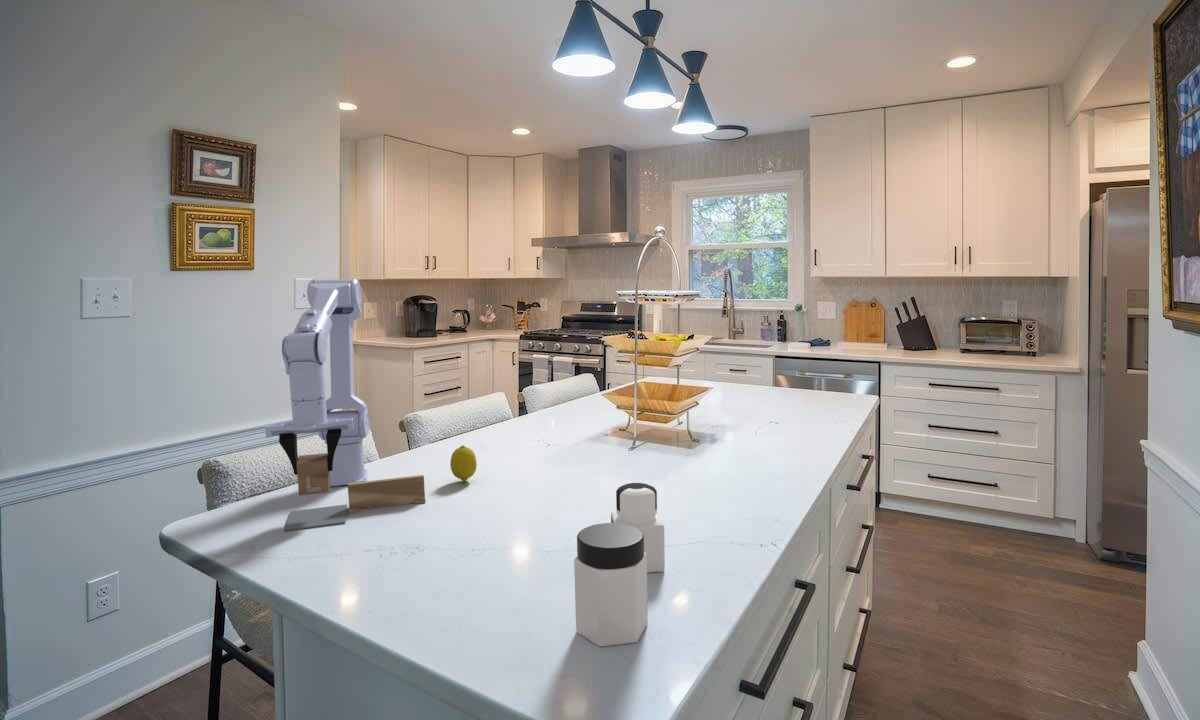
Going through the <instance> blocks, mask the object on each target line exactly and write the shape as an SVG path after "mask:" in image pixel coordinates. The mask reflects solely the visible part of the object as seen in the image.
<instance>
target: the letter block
mask: <svg viewBox="0 0 1200 720" xmlns="http://www.w3.org/2000/svg"><path fill="white" fill-rule="evenodd" d="M296 464H297V475H296V476H297V486H298V496H299V497H300V496H309V495H318V494H319V495H320V494H326V493H330V490H331V486H330V485H331V480H330V471H328V452H324V453H315V454H305V455H298V461H297V463H296Z"/></svg>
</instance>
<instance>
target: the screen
mask: <svg viewBox="0 0 1200 720" xmlns="http://www.w3.org/2000/svg"><path fill="white" fill-rule="evenodd" d="M425 492H426V489H425V476H424V474H419V475H413V476H410V475H409V476H402V477H395V478H394V477H393V478H386V479H378V480H377V479H376V480H367V481H365V482H357V483H348V485H347V496H348V510H349V512H348V513H353V512H361V510H365V509H373V508H374V507H375V508H381V507H382V506H383V507H391V506H399V505H405V504H412V503H414V502H415V503H414V504H415V505H417V503H419V504H424V502H426V495H425Z"/></svg>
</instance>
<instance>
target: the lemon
mask: <svg viewBox="0 0 1200 720" xmlns="http://www.w3.org/2000/svg"><path fill="white" fill-rule="evenodd" d="M449 463H450V464H449V465H450V470H451V472H452V474H453V476H454V477H455V478H457V479H458V480H461V481H462V482H463V483H464V481H465V482H467V480H468V479H470V478H471V477H472V476H474V474H475V473H476V470H477V467H478V466H477V465H478V464H477V463H478V462H477V458H476V455H475V452H474V451H473V449H471V448H469V447H467V446H465V445H460V446H459V447H457V448H456V449H455V450H454V451H453V452H452V454H451V457H450V462H449Z"/></svg>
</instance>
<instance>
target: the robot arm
mask: <svg viewBox="0 0 1200 720" xmlns="http://www.w3.org/2000/svg"><path fill="white" fill-rule="evenodd" d="M361 289H362V288H361V285H360V282H359V281H358V280H357V278H352V277H351V279H350V278H346V279H345V278H344V279H338V278H337V279H315V278H312V279H310V280H309V282H308V284H307V288H306V295H307V301H308V305H309V306H310V309H307V310H306V311H304V312H303V313H302V314H301V315H300V317H299V320H298V322H297V324H296V326H295V327H294V330H293V332H290V333H288V334H287V335H285V336H283V339H282V341H281V357H282V360H283V362H284V366H285V373H286V375H288V380H289V392H290V402H291V403H290V404H291V418H292V421H289V422H288V421H287V422H283V423H282V422H281V423H274V424H267V425H265V428H264V430H265V431H264V432H265V438H266V439H267V438H273V437H279V438H278V442H279V445H280V447H282V449H283V450H284V452H285V454H286V455H287V458H288V459H289V462H290V464H291V466H292V471H293V474H294V476H295V475H296V476H297V464H296V463H297V461H298V458H299V455H298V435H301V434H302V435H303V434H314V433H315V434H316V433H317V435H318V437H319V438H320V439H321V440H322V441H324V444H326V449H327V453H328V471H330V480H331V485H330V487H337V486H346V485H347V486H348V483H357V482H365V481H368V470H367V469H365V458H364V442H363V440H364V439H366V438H367V437H368V436H369V433H370V415H369V411H368V410H369V409H368V405H367V404H366V402H365V401H363V400H362V399H360V398H359V397H357V396H356V395H355V390H354V389H355V388H354V387H355V386H354V385H355V384H354V383H355V382H354V379H355V378H354V376H355V375H354V339H353V332H354V331H353V330H354V323H355V321H356V320H358V319H360V318H361V317H362V310H363V308H362V307H363V306H362V290H361ZM328 337H329V344H328V341H327V340H328ZM328 345H329V355H330V356H329V357H330V358H329V361H330V366H329V367H330V369H329V370H330V397H329V398H328V399H326V386H325V374H324V363H325V362H326V360H327V355H328V354H327V353H328V352H327V350H328ZM343 409H344V410H343ZM345 409H354V410H345ZM334 410H335V411H334ZM336 410H339V411H336Z"/></svg>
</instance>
